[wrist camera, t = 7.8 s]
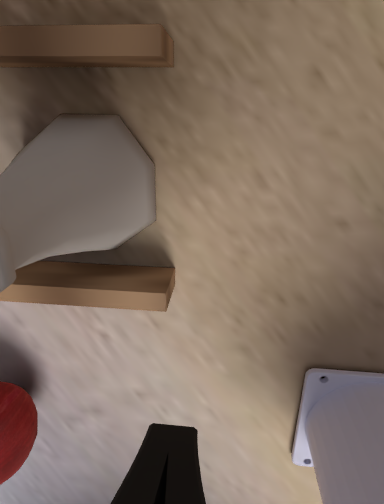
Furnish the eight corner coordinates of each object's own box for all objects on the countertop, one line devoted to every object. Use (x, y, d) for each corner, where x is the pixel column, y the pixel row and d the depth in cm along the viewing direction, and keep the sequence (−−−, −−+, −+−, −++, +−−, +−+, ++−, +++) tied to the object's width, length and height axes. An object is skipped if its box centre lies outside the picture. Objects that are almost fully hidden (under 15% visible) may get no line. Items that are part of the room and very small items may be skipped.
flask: (178, 230, 18) (126, 345, 9) (61, 262, 20) (-87, 390, 10) (129, 89, 16) (-9, 47, 7) (1, 137, 17) (-259, 159, 8)
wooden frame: (173, 41, 15) (160, 23, 12) (175, 284, 19) (166, 311, 17) (-48, 42, 16) (-107, 26, 13) (2, 274, 20) (-34, 298, 17)
